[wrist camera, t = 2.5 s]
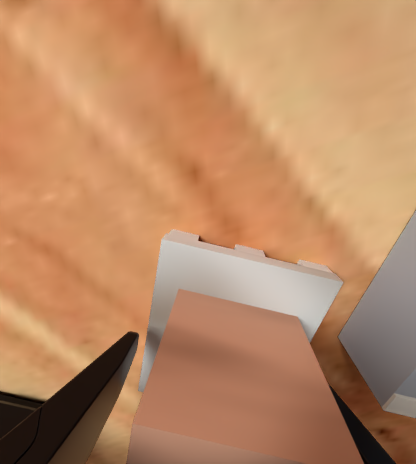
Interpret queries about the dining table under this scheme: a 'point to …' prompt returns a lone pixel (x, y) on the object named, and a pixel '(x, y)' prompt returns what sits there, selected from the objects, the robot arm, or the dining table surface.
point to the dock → (388, 329)
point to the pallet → (236, 361)
